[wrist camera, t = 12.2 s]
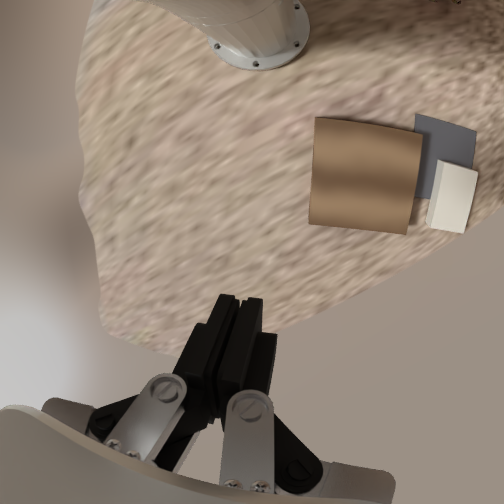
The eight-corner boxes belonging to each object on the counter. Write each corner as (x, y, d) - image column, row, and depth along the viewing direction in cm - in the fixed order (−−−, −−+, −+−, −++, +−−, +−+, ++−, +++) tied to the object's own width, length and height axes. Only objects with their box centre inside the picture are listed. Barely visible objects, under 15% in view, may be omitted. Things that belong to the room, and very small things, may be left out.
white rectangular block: (478, 172, 26) (471, 168, 28) (444, 162, 27) (437, 159, 29) (463, 233, 31) (457, 227, 32) (430, 227, 31) (425, 221, 33)
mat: (415, 113, 27) (416, 113, 27) (475, 131, 26) (476, 131, 25) (405, 194, 32) (406, 195, 32) (463, 205, 31) (464, 206, 31)
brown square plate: (314, 117, 30) (315, 117, 28) (414, 132, 28) (422, 134, 26) (308, 215, 37) (308, 224, 34) (399, 225, 35) (405, 234, 32)
